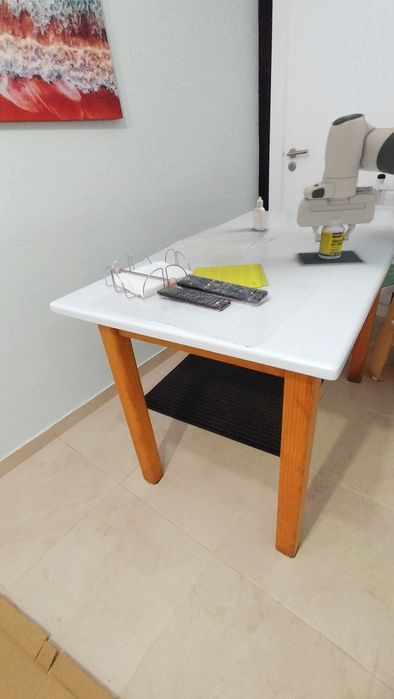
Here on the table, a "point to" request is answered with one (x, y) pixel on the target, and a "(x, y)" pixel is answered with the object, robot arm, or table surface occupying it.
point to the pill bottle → (331, 240)
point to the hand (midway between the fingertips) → (331, 240)
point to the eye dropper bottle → (259, 216)
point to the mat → (315, 259)
